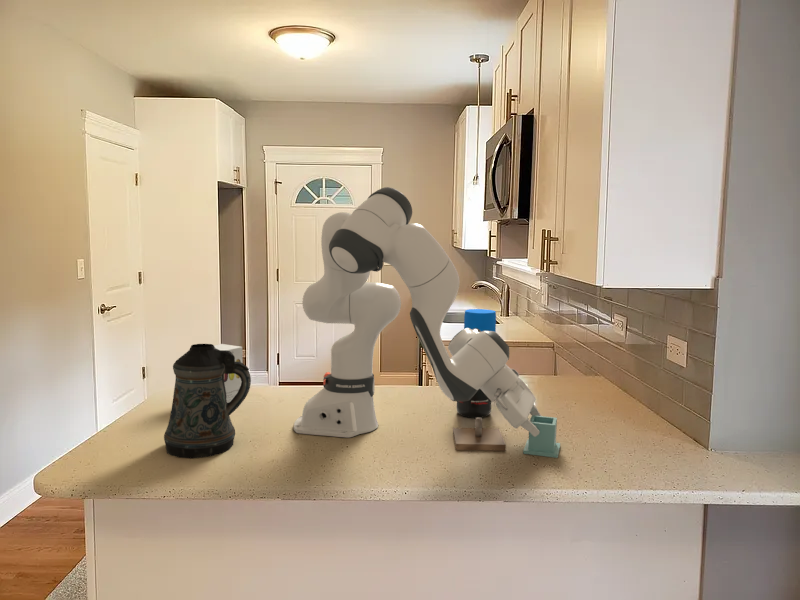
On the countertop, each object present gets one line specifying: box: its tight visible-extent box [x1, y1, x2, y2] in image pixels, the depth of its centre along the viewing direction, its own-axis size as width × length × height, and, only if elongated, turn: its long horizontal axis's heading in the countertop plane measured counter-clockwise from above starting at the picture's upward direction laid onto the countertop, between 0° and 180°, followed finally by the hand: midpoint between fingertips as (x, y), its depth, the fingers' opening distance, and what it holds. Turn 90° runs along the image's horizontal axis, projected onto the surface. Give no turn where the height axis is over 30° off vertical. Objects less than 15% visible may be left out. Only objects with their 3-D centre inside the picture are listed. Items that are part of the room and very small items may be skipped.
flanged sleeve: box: [522, 415, 561, 459], centre depth 148 cm, size 8×8×8 cm
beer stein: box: [163, 343, 252, 459], centre depth 148 cm, size 16×19×25 cm
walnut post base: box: [452, 417, 507, 452], centre depth 153 cm, size 12×12×6 cm
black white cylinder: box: [456, 328, 492, 419], centre depth 175 cm, size 10×10×25 cm
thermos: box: [463, 308, 497, 333], centre depth 211 cm, size 11×11×25 cm
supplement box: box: [213, 343, 243, 403], centre depth 185 cm, size 10×9×17 cm
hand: (540, 428), depth 148 cm, fingers open, 8 cm apart
